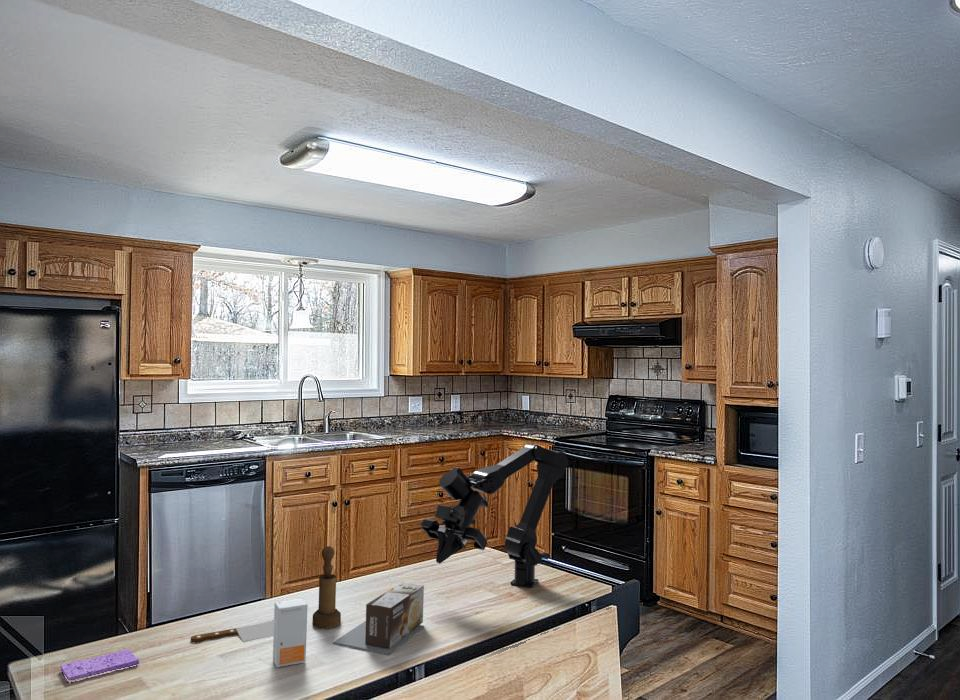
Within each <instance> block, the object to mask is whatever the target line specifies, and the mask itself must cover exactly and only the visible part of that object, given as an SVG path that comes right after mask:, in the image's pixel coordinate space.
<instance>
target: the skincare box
mask: <svg viewBox="0 0 960 700" xmlns="http://www.w3.org/2000/svg"><path fill="white" fill-rule="evenodd" d="M273 607H274V609H273V611H274V615H273V620H274V636H272V637H273V642H272V643H273V645H272V647H273V648H272V660H273V662H274V665H275V667H276V668H281V667H287V666H291V665H293V666H294V665H297V664H305V663H306V662H307V661H306V660H307V659H306V658H307V631H308V627H307V626H308V607H309V605H308V603H307V602H306V601H305V599H304V598H297V599H288V600H283V601H277V602H274V606H273Z"/></svg>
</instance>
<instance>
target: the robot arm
mask: <svg viewBox="0 0 960 700" xmlns="http://www.w3.org/2000/svg"><path fill="white" fill-rule="evenodd" d="M533 462H536V463H537V464H536V472H537V478H536V480H535V482H534V486H533V488H532V491H531V493H530V495H529V497H528V501H527V503H526V505H525V508H524V510H523V513H522V515H521V518H520V521H519V522H518V523H517V524H516V525H515V526H513V525H510V526H509V528H508V530H507V534H506V536H505V537H504V538H503V540H504V548H505V551H506V553H507V554H508V558H509V560H513V561H514V579H512V580H511V581H510V583H509V584H510V585H513V586H518V587H519V586H520V587H527V588H533V587H534V586H535V585H536V584H538V582H539V578H536V575H535V574H536V573H535V572H536V566H538V564H539V565H540V564H541V563H542V559H543V555H542V554H541V552H540V551H538V549H537V548H536V545H537V541H538V540H537V531H536V529H537V527H538V525H539V521H540V519H541V516H542V514H543V512H544V509H545V506H546V504H547V501H548V498H549V496H550V494H551V491H552V488H553V486H554V484H555V483H556V482H557V481H558V480H559V479H560V478H561V477H562V476H563V475H564V473H565V471H566V469H567V467H568V464H569V460H568V458H567V455H566V453H564V452H562V451H557V450H553V449H548V448H544V447H543V446H541V445H539V444H534V443H527V444H525V445H524V446H523V447H522V448H521V449H520V448H519V450H517V451H516V452H514V453H512V454H511V455H509V456H507V457H506V458H504V459H503V460H501V461H500V462H498V463H496V464H494V465H491V466H485V467H482V468H480V469H477V470H475V471H474V472H472V474H470V475H468V476H467V475H466V474H465V473H464V471H462V469H461V468H460V467H457V466H454V468H453V469H451V470H448V472H446V473H444V474H443V475H442V476H441V477H440V479H439V483H438V485H439V486H440V487H441V488H442V490H443V491H444V492H446V494H447V495H448V496H449V497H450V498H451V500H453V501H457V500H458V502H457V503H456V505H455V506H453V505H452V506H448V505H443V504H437V505H436V508H435V509H436V510H435V513H434V516H433V517H434V518H437V519H439V520H441V524H443V525H441V524H440V523H439V522H438V520H436V519H432V518H424V519H422V521H421V524H420V525H419V527H420V528H421V529H422V531H423V532H424V533H425V534H426V535H427V537H428V538H430V539H432V540H435V541H438V544H437V551H436V556H435V557H436V559H435V562H436V563H437V564H441V563H443V562H444V561H446V560H447V559H449V558H450V557H451V556H453V555H454V554H456V553H457V552H458V553H459V551H461V550H465V549H466V548H467V547H466V544H467V542H469V541H470V542H473V547H474V548H475V549H477V550H480V551H485V549H486V548H487V545H488V539H487V537H486V536H485V534H483V532H482V531H481V529H480V528H476V527H471V525H473V526H475V524H476V522H477V521H476V520H475V517H476V515H477V514H478V511H479V510H480V507H483V508H488V507H489V501H488V499H487V496H486V495H485V496H484V495H483V496H482V494H481V493H484V494H488V495H492V494H495V493H496V492H498V490H499V489H500V488H502V486H503V485H504V483H505V482H506V480H507V479H508V478H510V477H511V476H512V475H514V474H516V473H517V472H519V471H520V470H521V469H524V468H525V467H526V466H528V465H529V464H530V463H533ZM480 492H481V493H480Z"/></svg>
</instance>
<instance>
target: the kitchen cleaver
mask: <svg viewBox="0 0 960 700" xmlns="http://www.w3.org/2000/svg"><path fill="white" fill-rule="evenodd" d="M234 636H237V637H238V638H240V639H241V641H242V642H243V643H247V642H252V641H257V640H261V639H265V638H269V636H270V637H274V619H273V620H270V621H266V622H260V623H255V624H251V625H245V626H241V627H234V628H229V629H225V630H218V631H217V630H216V631H214V632H213V631H211V632H206V633H201V634H200V633H199V634H195V635H192V636H191V637H190V642H191V643H193V642H194V644H197V643H198V642H199V643H202V642H205V641H210V640H217V639H222V638H225V637H234Z"/></svg>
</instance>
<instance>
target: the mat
mask: <svg viewBox="0 0 960 700" xmlns="http://www.w3.org/2000/svg"><path fill="white" fill-rule="evenodd" d="M424 628H425V625H422V624H420V625H419V626H418V627H416V628H415V629H414V630H413V631H411V632H410V633H409V634H408V635H406V636H405V637H404V638H402V639H401V640H400V641H399V642H397V643H396V644H395V645H394V646H392V647H391V648H384V647H381V648H380V647H375V646H370V645H366V644H365V635H366V620H365V621H363V622H362V623H360V624H359V625H357V626H355V627H354V628H352V629H351V630H349V631H348V632H346V633H345V634H343V635H342V636H340V637H339V638H337V639H335V640H334V641H333V642H332V644H333V645H337V646H340V647H341V646H342V647H347V648H352V649H357V650H361V651H367V652H371V653H376V654H382V655H385V656H390V655H391V654H393V652H394V651H396V650H397V649H399V648H400V647H401V646H403V645H404V644H405V643H406V642H408V641H409V640H410V639H412V638H413V637H414V636H416V635H417V634H419V633H420V632H421V631H422V630H424ZM420 630H421V631H420ZM416 633H417V634H416Z"/></svg>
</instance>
